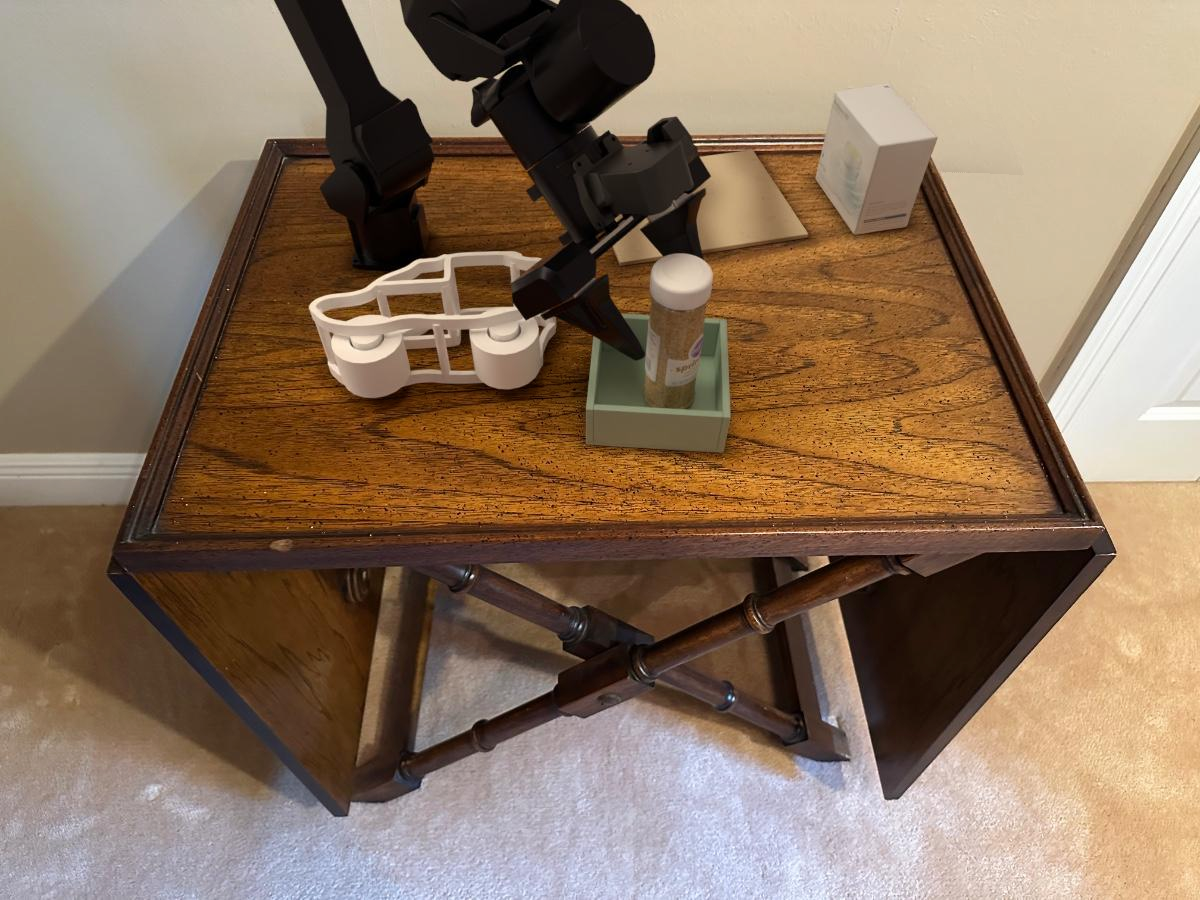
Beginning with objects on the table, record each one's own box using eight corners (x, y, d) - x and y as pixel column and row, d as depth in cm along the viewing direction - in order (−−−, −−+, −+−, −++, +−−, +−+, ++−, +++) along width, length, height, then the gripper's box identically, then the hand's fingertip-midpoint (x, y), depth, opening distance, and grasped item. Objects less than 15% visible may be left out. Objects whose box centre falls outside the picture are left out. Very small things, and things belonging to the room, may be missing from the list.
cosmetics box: (811, 179, 92) (833, 88, 83) (865, 172, 93) (891, 81, 84) (851, 236, 85) (879, 143, 77) (908, 228, 86) (942, 135, 78)
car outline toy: (324, 414, 69) (301, 351, 63) (337, 324, 76) (317, 260, 70) (563, 399, 71) (561, 336, 65) (554, 311, 77) (552, 247, 72)
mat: (619, 266, 82) (619, 262, 81) (582, 176, 91) (582, 172, 91) (807, 237, 85) (808, 233, 85) (752, 153, 95) (752, 149, 94)
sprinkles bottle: (687, 421, 69) (706, 296, 58) (635, 408, 70) (643, 283, 59) (700, 383, 71) (720, 257, 61) (649, 371, 72) (660, 245, 62)
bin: (586, 444, 68) (585, 409, 64) (595, 348, 75) (596, 311, 71) (723, 453, 67) (730, 417, 64) (720, 355, 74) (726, 318, 71)
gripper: (532, 161, 49) (676, 374, 53) (702, 43, 58) (811, 232, 63) (451, 225, 58) (579, 402, 62) (609, 113, 67) (710, 274, 72)
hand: (674, 325), depth 64 cm, fingers open, 9 cm apart
